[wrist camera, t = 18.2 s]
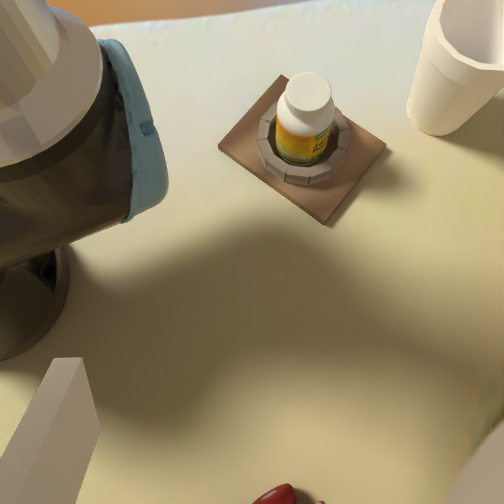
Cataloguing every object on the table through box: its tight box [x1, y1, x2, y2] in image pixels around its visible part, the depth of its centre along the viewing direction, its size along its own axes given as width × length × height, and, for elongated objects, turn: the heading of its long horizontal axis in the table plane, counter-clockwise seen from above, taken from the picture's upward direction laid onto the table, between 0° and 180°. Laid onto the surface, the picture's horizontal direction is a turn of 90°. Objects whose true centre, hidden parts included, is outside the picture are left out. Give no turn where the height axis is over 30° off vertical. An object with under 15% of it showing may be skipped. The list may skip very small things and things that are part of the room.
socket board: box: [218, 75, 387, 225], centre depth 50 cm, size 14×11×3 cm
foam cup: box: [406, 0, 504, 136], centre depth 46 cm, size 10×9×13 cm
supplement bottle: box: [276, 72, 335, 166], centre depth 46 cm, size 5×5×10 cm
